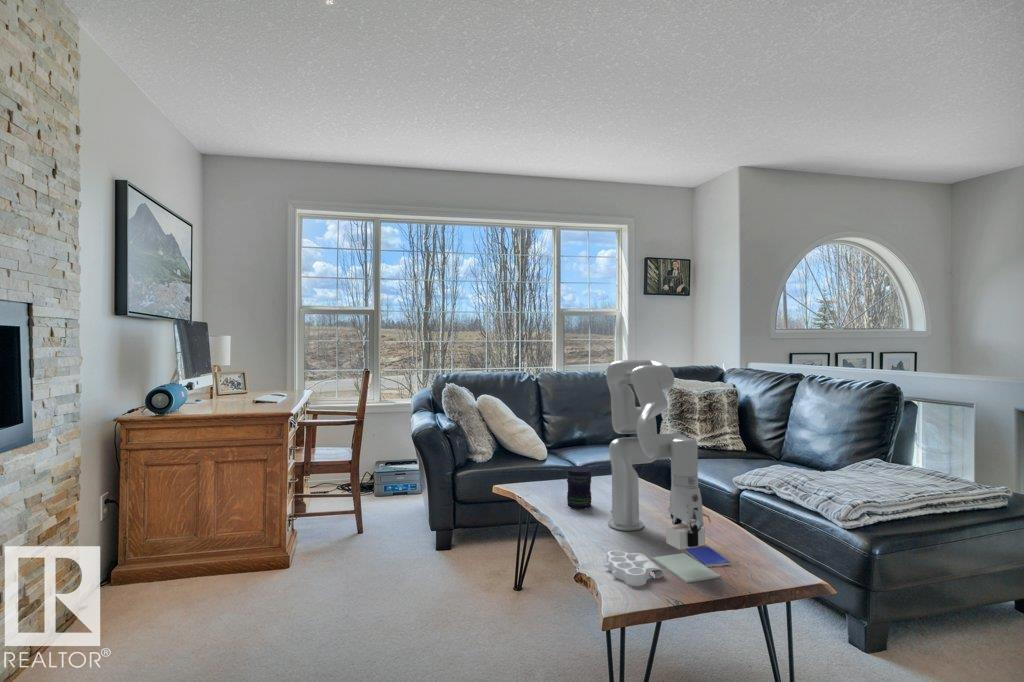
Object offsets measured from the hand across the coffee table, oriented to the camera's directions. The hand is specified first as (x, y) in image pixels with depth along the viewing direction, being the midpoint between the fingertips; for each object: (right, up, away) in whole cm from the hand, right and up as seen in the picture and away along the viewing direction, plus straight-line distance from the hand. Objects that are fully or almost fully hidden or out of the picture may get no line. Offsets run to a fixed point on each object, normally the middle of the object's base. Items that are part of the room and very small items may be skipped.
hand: (685, 541), depth 159 cm
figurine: (+10, -8, +19) cm, 23 cm away
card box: (0, -1, 0) cm, 1 cm away
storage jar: (-23, -8, +62) cm, 66 cm away
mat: (0, -8, 0) cm, 8 cm away
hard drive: (+9, -9, +8) cm, 15 cm away
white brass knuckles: (-16, -9, -2) cm, 19 cm away
